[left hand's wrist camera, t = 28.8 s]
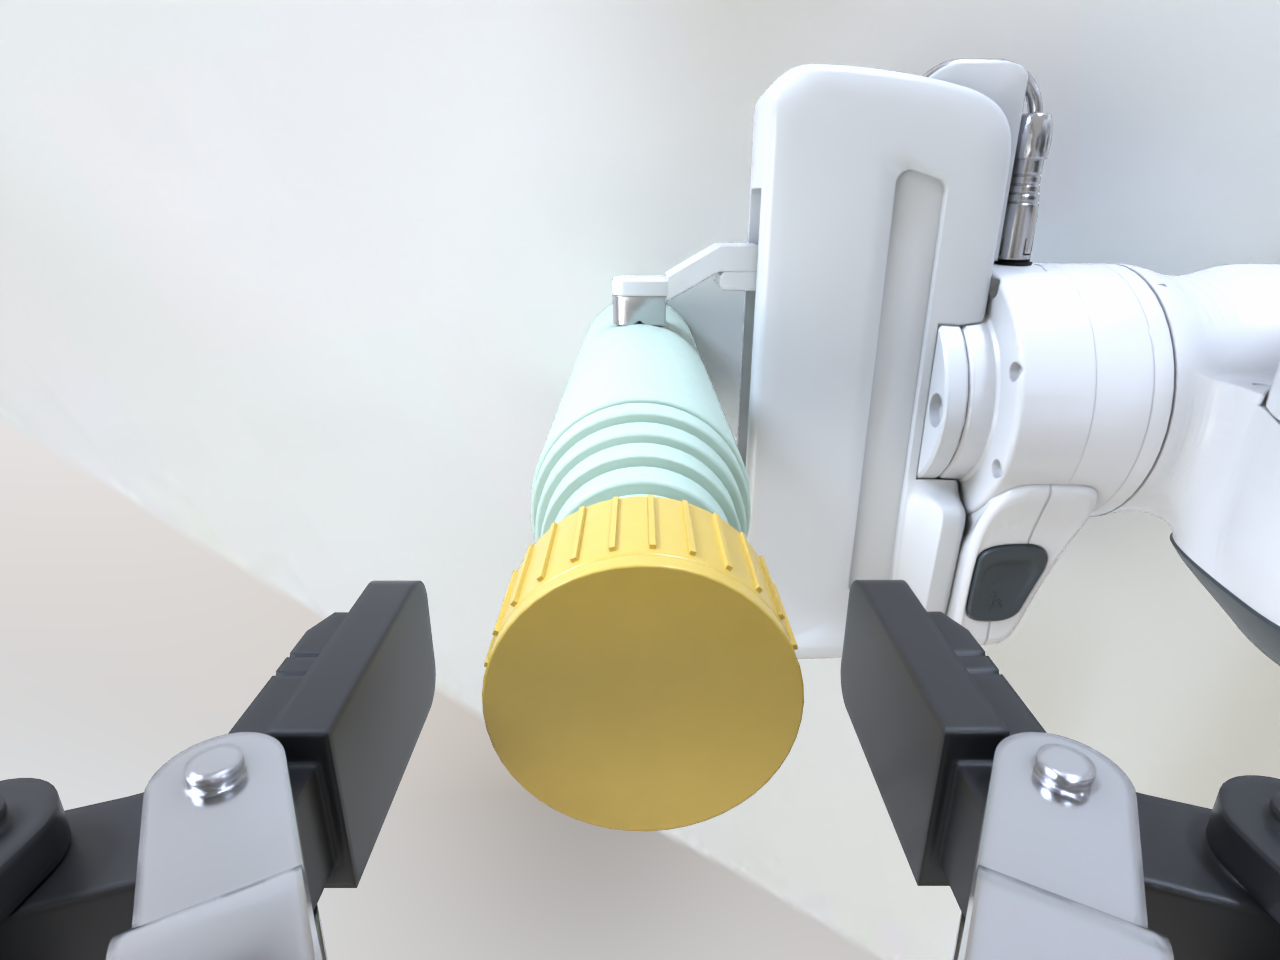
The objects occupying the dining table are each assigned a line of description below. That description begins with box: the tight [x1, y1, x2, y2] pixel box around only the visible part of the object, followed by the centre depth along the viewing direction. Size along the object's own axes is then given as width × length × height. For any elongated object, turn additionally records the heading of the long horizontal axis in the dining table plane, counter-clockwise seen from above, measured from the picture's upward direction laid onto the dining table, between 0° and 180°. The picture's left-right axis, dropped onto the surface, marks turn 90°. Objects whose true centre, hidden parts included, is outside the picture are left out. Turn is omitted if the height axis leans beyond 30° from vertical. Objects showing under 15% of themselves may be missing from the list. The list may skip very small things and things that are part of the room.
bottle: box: [531, 304, 751, 542], centre depth 21 cm, size 5×5×23 cm
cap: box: [482, 494, 804, 831], centre depth 11 cm, size 4×4×2 cm
